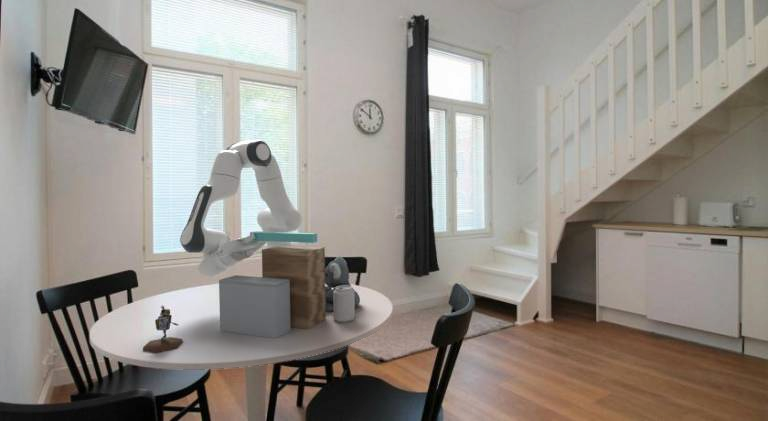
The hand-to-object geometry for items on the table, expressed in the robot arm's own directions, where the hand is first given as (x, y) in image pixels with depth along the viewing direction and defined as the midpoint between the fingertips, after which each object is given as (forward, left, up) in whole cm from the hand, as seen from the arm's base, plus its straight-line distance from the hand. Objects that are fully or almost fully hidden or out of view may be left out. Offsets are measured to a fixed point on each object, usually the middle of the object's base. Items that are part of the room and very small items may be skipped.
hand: (258, 234), depth 151 cm
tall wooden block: (0, +15, -30) cm, 34 cm away
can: (-7, +31, -31) cm, 44 cm away
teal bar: (0, +10, -2) cm, 10 cm away
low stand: (+13, +8, -30) cm, 34 cm away
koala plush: (-22, +21, -31) cm, 43 cm away
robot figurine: (+34, -9, -31) cm, 47 cm away
